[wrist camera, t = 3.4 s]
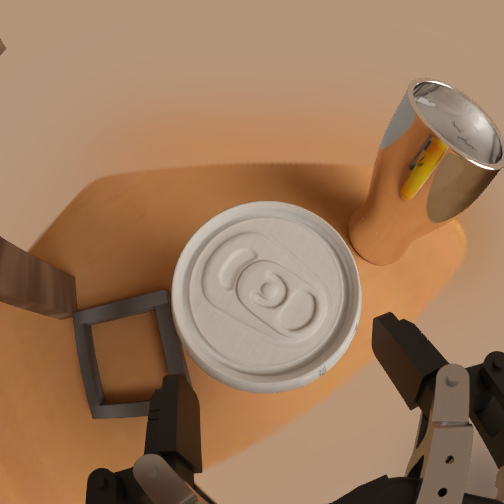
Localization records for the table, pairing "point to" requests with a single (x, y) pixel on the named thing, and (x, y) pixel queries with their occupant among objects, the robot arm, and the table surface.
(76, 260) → the table surface
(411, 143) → the beer glass
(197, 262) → the beer can
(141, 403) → the overhang bracket
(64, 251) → the table surface
